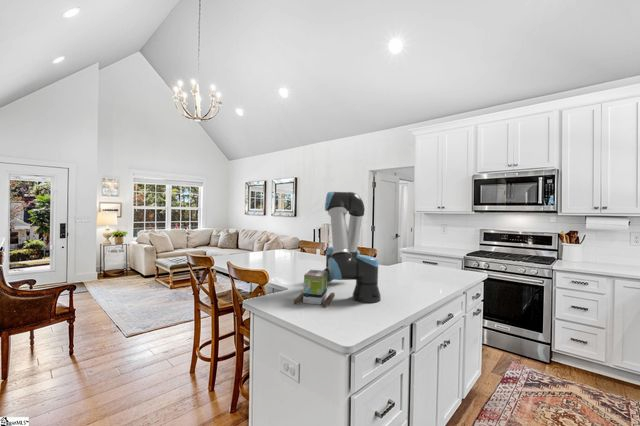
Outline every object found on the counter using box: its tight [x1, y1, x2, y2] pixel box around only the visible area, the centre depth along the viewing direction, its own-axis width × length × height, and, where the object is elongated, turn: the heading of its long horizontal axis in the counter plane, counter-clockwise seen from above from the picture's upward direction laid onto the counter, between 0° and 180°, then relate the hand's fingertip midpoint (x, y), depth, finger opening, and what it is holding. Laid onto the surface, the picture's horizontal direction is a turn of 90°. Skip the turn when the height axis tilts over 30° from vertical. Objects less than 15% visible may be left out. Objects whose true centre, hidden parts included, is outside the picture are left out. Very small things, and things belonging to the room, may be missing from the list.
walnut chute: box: [293, 291, 336, 309], centre depth 162 cm, size 17×20×2 cm
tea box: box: [302, 269, 328, 305], centre depth 163 cm, size 15×10×15 cm, turn 168°
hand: (319, 282), depth 170 cm, fingers closed
